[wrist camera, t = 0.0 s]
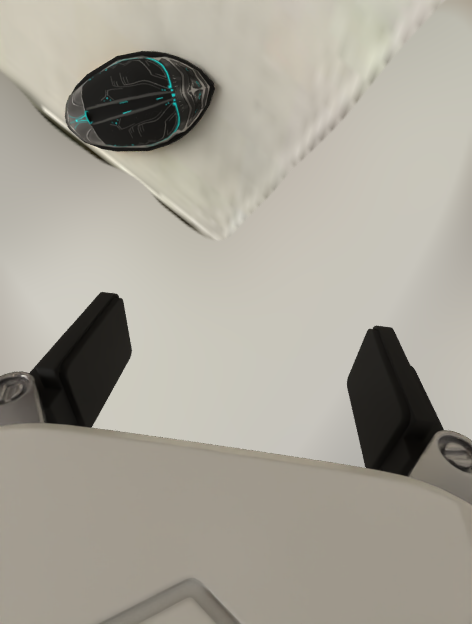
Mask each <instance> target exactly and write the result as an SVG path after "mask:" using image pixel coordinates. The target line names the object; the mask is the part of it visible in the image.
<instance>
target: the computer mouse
mask: <svg viewBox="0 0 472 624" xmlns="http://www.w3.org/2000/svg"><path fill="white" fill-rule="evenodd" d="M214 89H215V87H214V83H213V82H212V80H211V79H210V78H209V77H208V76H207V75H206V74H205V73H204V72H203V71H202V70H201V69H199V68H198V67H196V66H194V65H193V64H191V63H189V62H188V61H186V60H184V59H181V58H179V57H176V56H173V55H170V54H166V53H160V52H149V51H141V52H136V53H131V54H126V55H120V56H117V57H115V58H113V59H112V60H110V61H108V62H107V63H105V64H103V65H102V66H100V67H99V68H97V69H95V70H94V71H92V72H90V73H89V74H87V75H86V76H85V77H84V78H83V79H82V80H81V81H80V82H79V83H78V84H77V85H76V87H75V89H74V90H73V92H72V94H71V95H70V96H69V98H68V100H67V103H66V111H65V119H66V123H67V125H68V128H69V129H70V130H71V131H72V132H73V133H74V134H75V135H76V136H78V137H79V138H80V139H81V140H82V141H84V142H85V143H88V144H90V145H93V146H96V147H98V148H101V149H106V150H112V151H150V150H153V149H157V148H160V147H163V146H166V145H169V144H171V143H173V142H175V141H177V140H179V139H180V138H182V137H183V136H184V135H186V134H187V133H188V132H189V131H190V130H191V129H192V128H193V127H194V126H195V125H196V124H197V123H198V122H199V120H200V119H201V118H202V116H203V114H204V113H205V111H206V110H207V108H208V106H209V104H210V101H211V98H212V95H213V92H214Z"/></svg>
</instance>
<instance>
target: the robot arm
mask: <svg viewBox="0 0 472 624" xmlns="http://www.w3.org/2000/svg"><path fill="white" fill-rule="evenodd" d="M131 352H132V349H131V343H130V337H129V331H128V326H127V320H126V314H125V309H124V303H123V299H122V298H119V296H118V295H117V294H114V293H105V292H101V293H100V294H99V295H98V296H97V297H96V298H95V299H94V300H93V302H92V303H91V304H90V305H89V306H88V307H87V309H86V310H85V311H84V312H83V313H82V314H81V315H80V316H79V318H78V319H77V320H76V321H75V322H74V323H73V325H71V326H70V328H69V329H68V330H67V331H66V332H65V333H64V334H63V335H62V337H61V338H60V339H59V340H58V341H57V342H56V343H55V345H54V346H53V347H52V348H51V349H50V351H49V352H48V353H47V354H46V355H45V356H44V357H43V358H42V360H41V361H40V362H39V363H38V364H37V365H36V366H35V367H34V369H33V370H32V371H31V372H30V373H26V372H12V373H8V374H4V375H2V376H0V624H472V441H471V440H470V439H469V438H467V437H465V436H463V435H461V434H459V433H456V432H453V431H447V430H444V429H443V427H442V425H441V423H440V421H439V419H438V417H437V415H436V412H435V410H434V408H433V406H432V404H431V402H430V400H429V398H428V396H427V394H426V392H425V390H424V388H423V385H422V383H421V381H420V379H419V377H418V375H417V373H416V371H415V369H414V368H413V367H412V366H410V364H409V362H408V360H407V357H406V356H405V353H404V351H403V349H402V347H401V345H400V343H399V340H398V338H397V336H396V334H395V332H394V330H393V329H392V328H390V327H383V326H374V327H373V329H368V331H367V333H366V336H365V338H364V340H363V343H362V345H361V347H360V350H359V352H358V355H357V357H356V359H355V362H354V364H353V367H352V369H351V372H350V374H349V376H348V380H347V388H348V393H349V396H350V401H351V406H352V410H353V414H354V419H355V423H356V427H357V432H358V436H359V441H360V445H361V449H362V454H363V459H364V463H365V467H366V468H362V467H356V466H350V465H344V464H338V463H332V462H326V461H319V460H312V459H306V458H299V457H293V456H286V455H280V454H273V453H266V452H260V451H253V450H246V449H239V448H232V447H225V446H218V445H212V444H205V443H198V442H191V441H184V440H177V439H169V438H163V437H156V436H148V435H141V434H134V433H127V432H120V431H113V430H105V429H97V428H91V427H92V426H93V424H94V422H95V420H96V419H97V417H98V415H99V413H100V411H101V410H102V408H103V406H104V404H105V402H106V401H107V399H108V397H109V395H110V393H111V392H112V390H113V388H114V386H115V384H116V383H117V381H118V379H119V377H120V375H121V374H122V372H123V370H124V368H125V366H126V364H127V363H128V361H129V359H130V356H131Z"/></svg>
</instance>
